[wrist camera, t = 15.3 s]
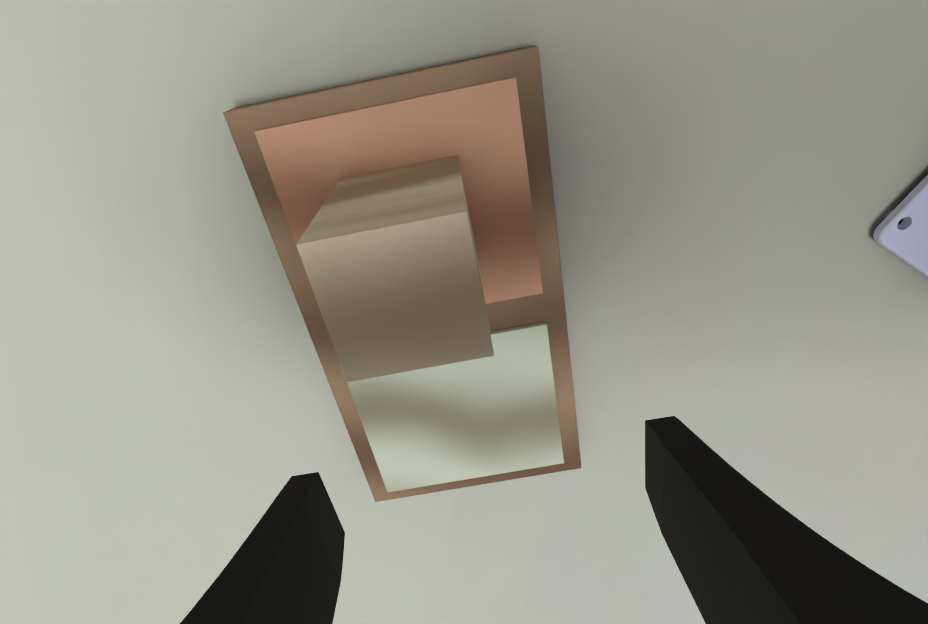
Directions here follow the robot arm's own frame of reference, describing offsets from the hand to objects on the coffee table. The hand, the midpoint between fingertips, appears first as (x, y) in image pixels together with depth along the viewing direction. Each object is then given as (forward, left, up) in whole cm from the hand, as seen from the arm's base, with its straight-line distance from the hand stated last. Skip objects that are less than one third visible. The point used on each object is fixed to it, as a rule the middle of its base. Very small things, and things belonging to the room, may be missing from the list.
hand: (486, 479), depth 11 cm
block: (-1, -3, -9) cm, 10 cm away
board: (+2, 0, -10) cm, 10 cm away
